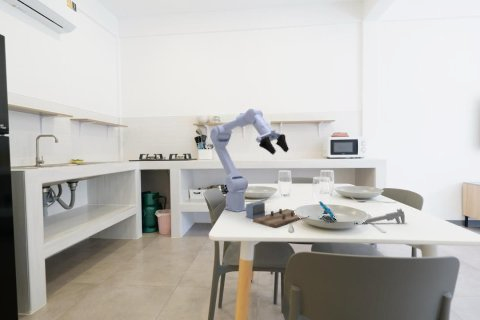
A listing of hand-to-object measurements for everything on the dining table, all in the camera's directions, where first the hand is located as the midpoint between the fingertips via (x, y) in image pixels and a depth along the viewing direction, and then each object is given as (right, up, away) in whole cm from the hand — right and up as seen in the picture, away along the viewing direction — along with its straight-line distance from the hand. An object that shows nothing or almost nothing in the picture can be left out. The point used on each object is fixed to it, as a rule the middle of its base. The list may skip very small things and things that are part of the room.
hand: (280, 151), depth 109 cm
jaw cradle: (+1, -29, +4) cm, 29 cm away
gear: (+21, -29, +4) cm, 36 cm away
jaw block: (-10, -29, +9) cm, 32 cm away
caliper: (+39, -30, -3) cm, 49 cm away
